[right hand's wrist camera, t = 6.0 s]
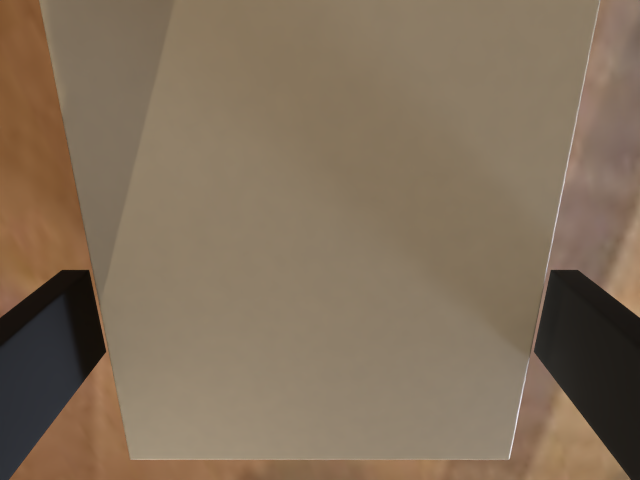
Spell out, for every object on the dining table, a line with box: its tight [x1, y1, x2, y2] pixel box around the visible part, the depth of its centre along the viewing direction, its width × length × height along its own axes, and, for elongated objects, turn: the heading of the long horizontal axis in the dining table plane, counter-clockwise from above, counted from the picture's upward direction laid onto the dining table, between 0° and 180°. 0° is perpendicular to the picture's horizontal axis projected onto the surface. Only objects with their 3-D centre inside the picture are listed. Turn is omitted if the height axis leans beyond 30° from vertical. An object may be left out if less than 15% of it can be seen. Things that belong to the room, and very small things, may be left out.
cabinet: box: [39, 0, 600, 460], centre depth 14 cm, size 18×11×9 cm, turn 0°
